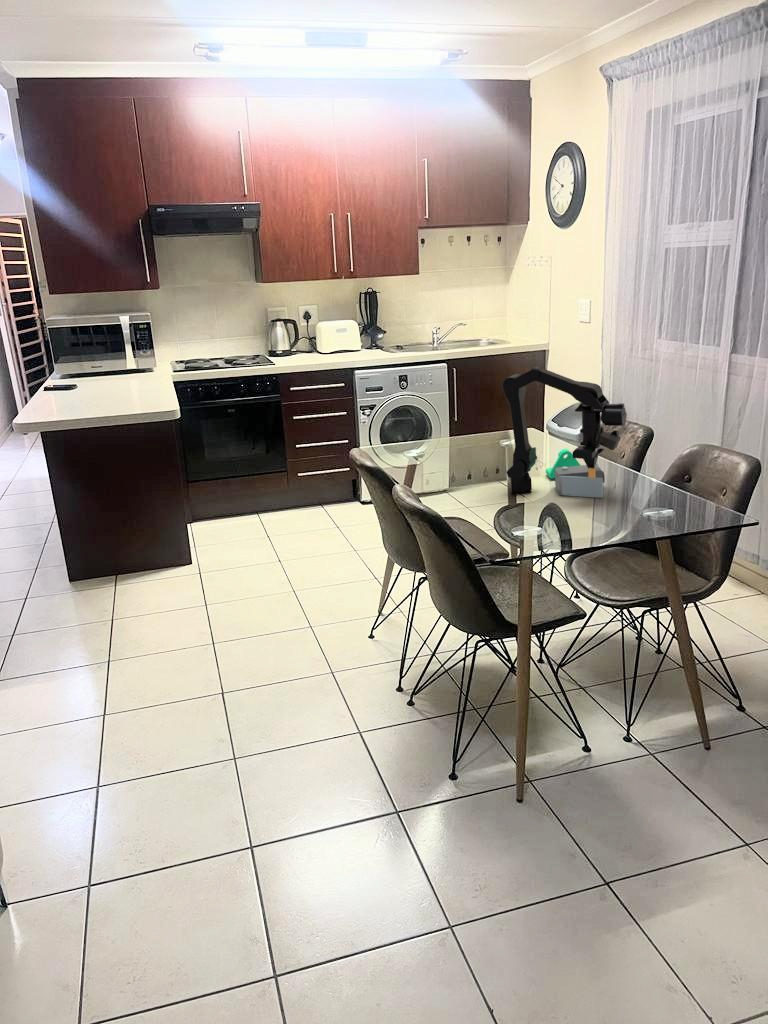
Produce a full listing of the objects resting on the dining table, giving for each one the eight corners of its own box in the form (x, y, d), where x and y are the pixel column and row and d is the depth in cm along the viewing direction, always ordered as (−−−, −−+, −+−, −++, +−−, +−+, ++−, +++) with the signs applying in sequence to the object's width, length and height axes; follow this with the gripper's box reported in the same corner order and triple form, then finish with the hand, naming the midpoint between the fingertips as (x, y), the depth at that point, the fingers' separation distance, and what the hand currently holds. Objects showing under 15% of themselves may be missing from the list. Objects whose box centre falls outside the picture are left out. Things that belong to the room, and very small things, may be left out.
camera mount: (578, 471, 270) (577, 444, 267) (584, 477, 263) (583, 449, 260) (545, 475, 271) (544, 448, 267) (550, 481, 263) (549, 453, 260)
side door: (558, 494, 247) (557, 467, 244) (559, 493, 248) (558, 466, 245) (602, 497, 240) (601, 469, 237) (603, 496, 241) (602, 468, 238)
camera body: (559, 494, 248) (558, 472, 246) (555, 487, 256) (554, 466, 253) (606, 490, 247) (605, 468, 244) (600, 483, 254) (600, 461, 252)
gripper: (607, 433, 224) (607, 483, 229) (625, 418, 238) (625, 465, 244) (571, 432, 230) (572, 480, 235) (591, 417, 244) (592, 462, 250)
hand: (592, 472), depth 241 cm, fingers closed
